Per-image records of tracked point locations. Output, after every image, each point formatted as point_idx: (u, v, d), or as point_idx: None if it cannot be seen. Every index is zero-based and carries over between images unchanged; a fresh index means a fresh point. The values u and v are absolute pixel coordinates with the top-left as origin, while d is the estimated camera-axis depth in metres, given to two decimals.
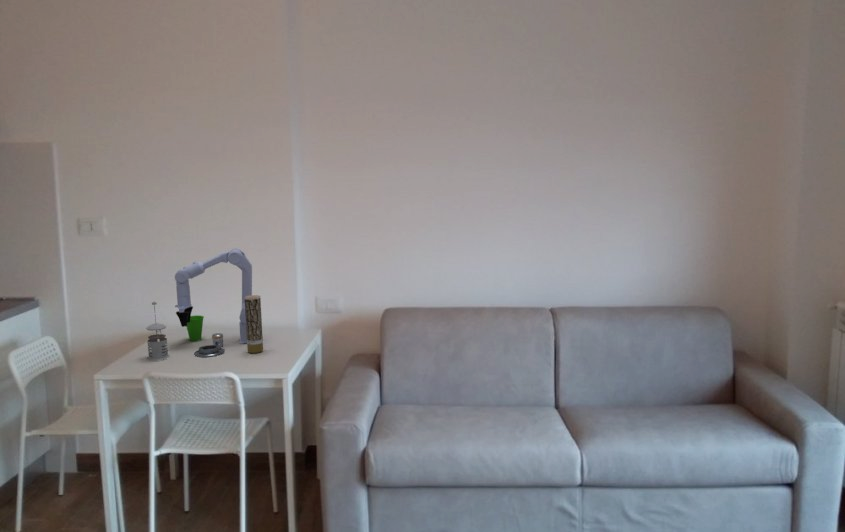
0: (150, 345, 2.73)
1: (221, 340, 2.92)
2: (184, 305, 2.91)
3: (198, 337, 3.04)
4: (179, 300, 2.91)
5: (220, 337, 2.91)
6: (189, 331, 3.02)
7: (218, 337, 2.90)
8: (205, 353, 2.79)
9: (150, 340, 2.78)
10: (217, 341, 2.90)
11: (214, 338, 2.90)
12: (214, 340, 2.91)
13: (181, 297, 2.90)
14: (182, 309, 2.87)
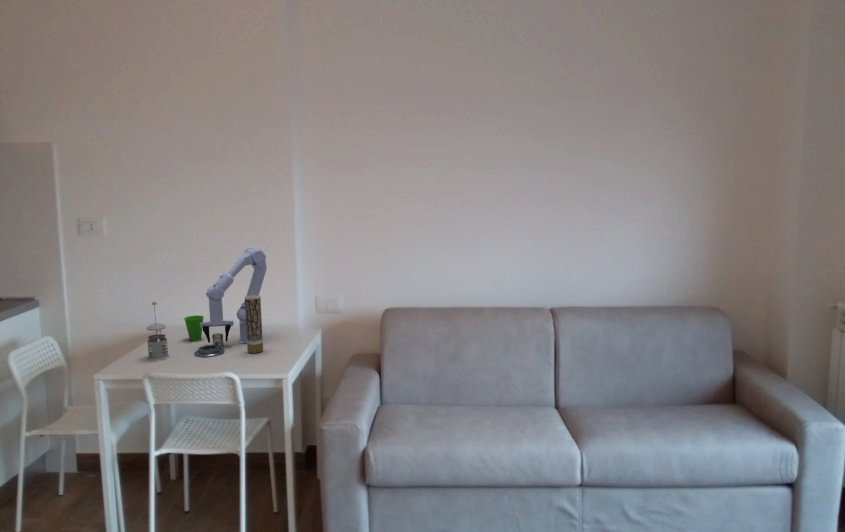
0: (150, 345, 2.73)
1: (221, 340, 2.92)
2: (210, 322, 2.90)
3: (198, 337, 3.04)
4: None
5: (220, 337, 2.91)
6: (189, 331, 3.02)
7: (218, 337, 2.90)
8: (205, 353, 2.79)
9: (150, 340, 2.78)
10: (217, 341, 2.90)
11: (214, 338, 2.90)
12: (214, 340, 2.91)
13: None
14: (200, 324, 2.89)
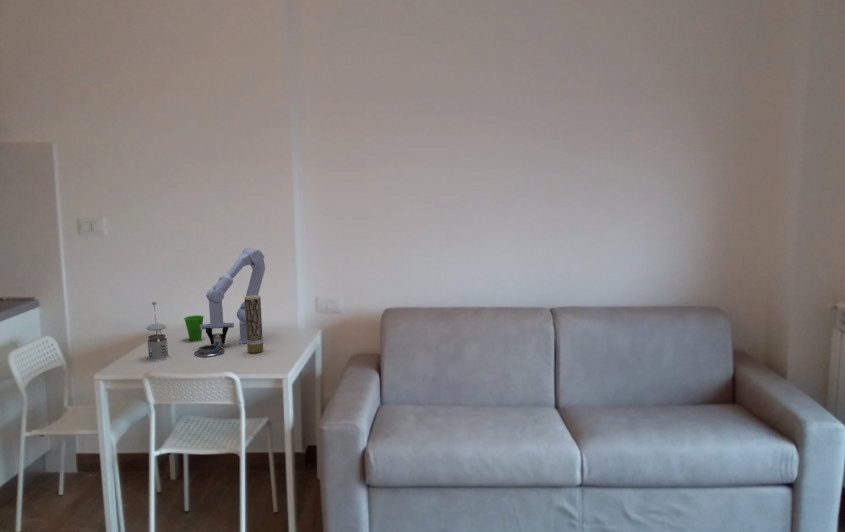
0: (150, 345, 2.73)
1: (221, 340, 2.92)
2: (210, 324, 2.90)
3: (198, 337, 3.04)
4: None
5: (220, 337, 2.91)
6: (189, 331, 3.02)
7: (218, 337, 2.90)
8: (205, 353, 2.79)
9: (150, 340, 2.78)
10: (217, 341, 2.90)
11: (214, 338, 2.90)
12: (214, 340, 2.91)
13: None
14: (200, 326, 2.90)
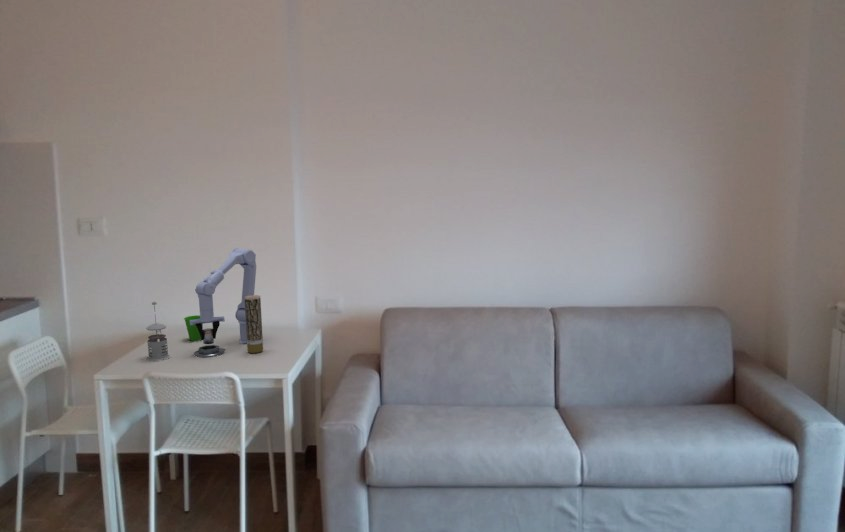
0: (150, 345, 2.73)
1: (212, 335, 2.82)
2: (200, 319, 2.79)
3: (198, 337, 3.04)
4: None
5: (211, 332, 2.81)
6: (189, 331, 3.02)
7: (209, 332, 2.81)
8: (205, 353, 2.79)
9: (150, 340, 2.78)
10: (208, 336, 2.81)
11: (205, 333, 2.80)
12: (205, 336, 2.81)
13: None
14: (190, 322, 2.78)
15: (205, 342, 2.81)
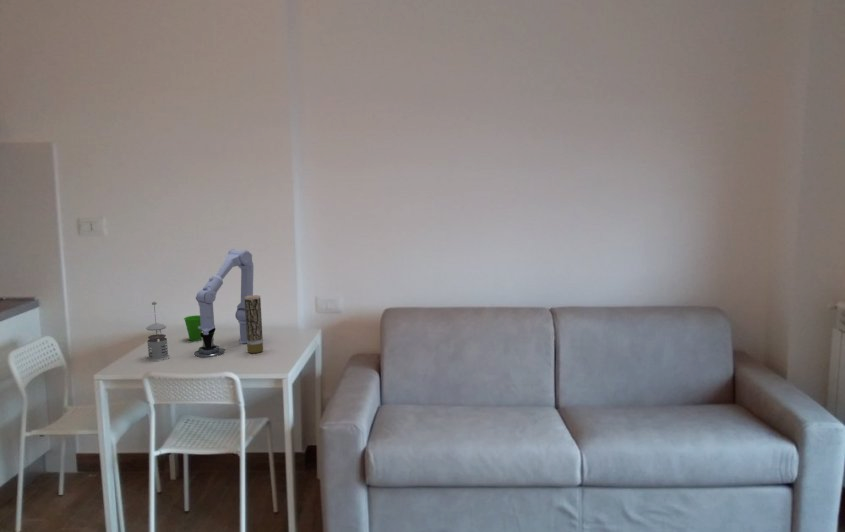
0: (150, 345, 2.73)
1: None
2: (208, 327, 2.79)
3: (198, 337, 3.04)
4: (203, 321, 2.79)
5: None
6: (189, 331, 3.02)
7: None
8: (205, 353, 2.79)
9: (150, 340, 2.78)
10: (213, 343, 2.83)
11: None
12: (211, 343, 2.82)
13: (205, 318, 2.78)
14: (206, 331, 2.75)
15: None
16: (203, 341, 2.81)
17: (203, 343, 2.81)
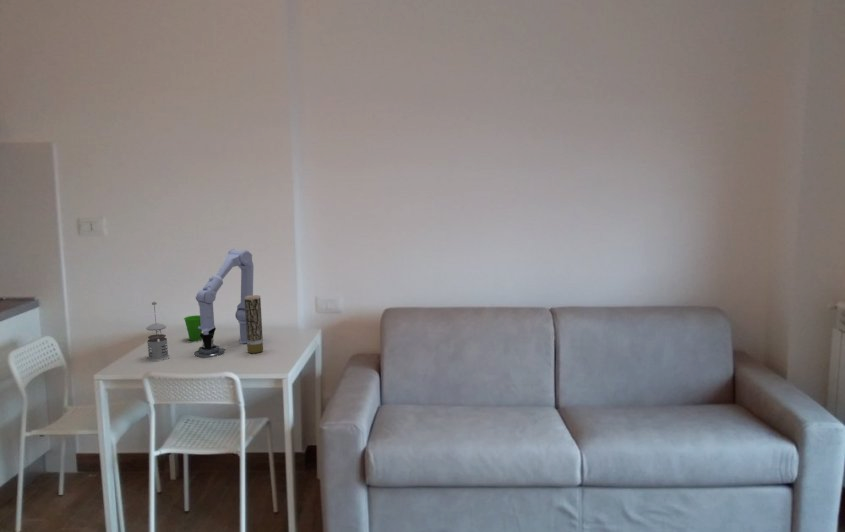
0: (150, 345, 2.73)
1: None
2: (208, 327, 2.79)
3: (198, 337, 3.04)
4: (203, 321, 2.79)
5: None
6: (189, 331, 3.02)
7: None
8: (205, 353, 2.79)
9: (150, 340, 2.78)
10: (213, 344, 2.83)
11: (211, 342, 2.82)
12: (211, 344, 2.82)
13: (205, 318, 2.78)
14: (206, 331, 2.75)
15: None
16: None
17: (203, 344, 2.82)
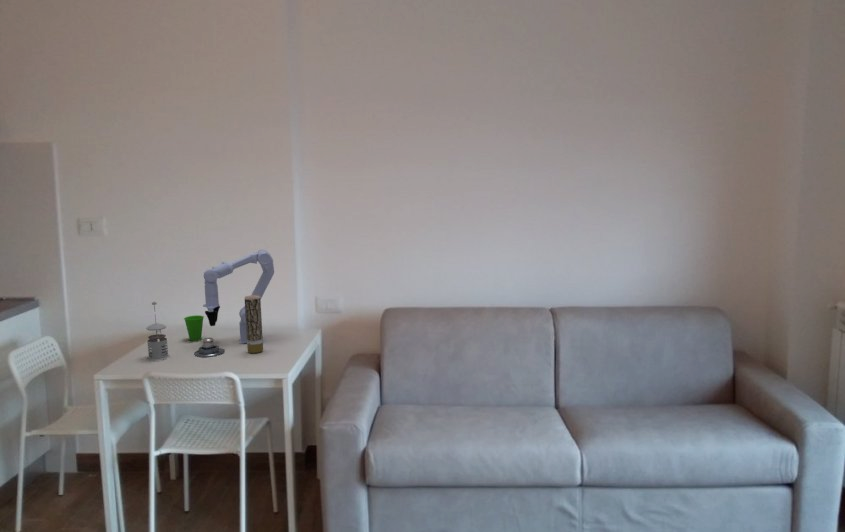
0: (150, 345, 2.73)
1: None
2: (213, 304, 2.92)
3: (198, 337, 3.04)
4: (208, 299, 2.92)
5: None
6: (189, 331, 3.02)
7: None
8: (205, 353, 2.79)
9: (150, 340, 2.78)
10: (213, 344, 2.83)
11: (211, 342, 2.82)
12: (211, 344, 2.82)
13: (210, 296, 2.91)
14: (211, 308, 2.88)
15: None
16: (203, 342, 2.81)
17: (203, 344, 2.82)
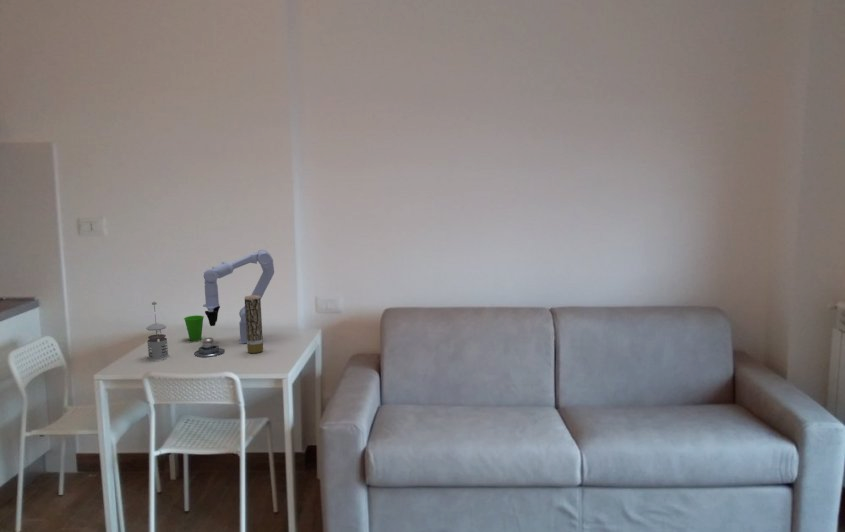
0: (150, 345, 2.73)
1: None
2: (213, 304, 2.92)
3: (198, 337, 3.04)
4: (208, 299, 2.92)
5: None
6: (189, 331, 3.02)
7: (213, 340, 2.84)
8: (205, 353, 2.79)
9: (150, 340, 2.78)
10: (213, 344, 2.83)
11: (211, 342, 2.82)
12: (211, 344, 2.82)
13: (210, 296, 2.91)
14: (211, 308, 2.88)
15: None
16: (203, 342, 2.81)
17: (203, 344, 2.82)
